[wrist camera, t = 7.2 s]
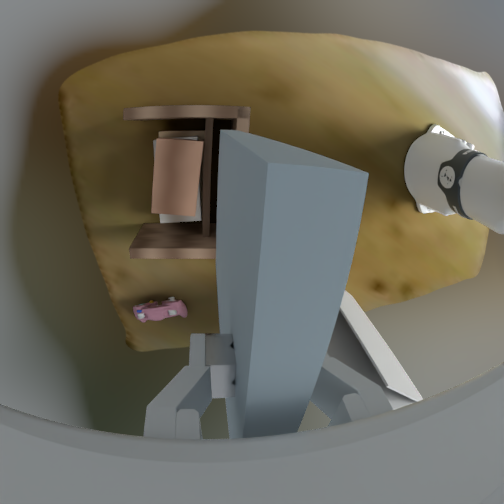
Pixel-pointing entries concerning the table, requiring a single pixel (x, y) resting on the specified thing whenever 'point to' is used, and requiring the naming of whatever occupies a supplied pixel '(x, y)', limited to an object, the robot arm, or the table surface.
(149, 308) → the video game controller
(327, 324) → the sheet
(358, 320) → the brochure
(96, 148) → the table surface
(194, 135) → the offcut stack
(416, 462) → the robot arm
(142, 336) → the table surface
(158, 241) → the rack
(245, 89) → the table surface
